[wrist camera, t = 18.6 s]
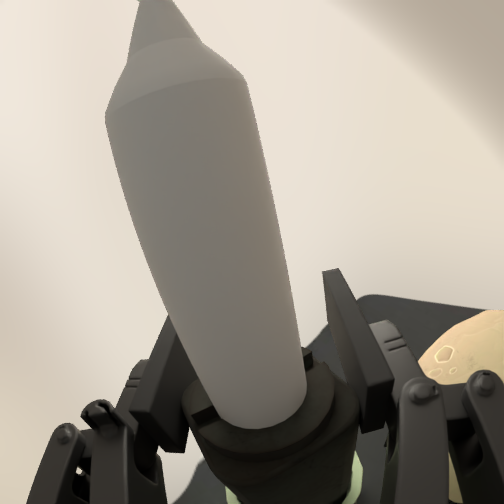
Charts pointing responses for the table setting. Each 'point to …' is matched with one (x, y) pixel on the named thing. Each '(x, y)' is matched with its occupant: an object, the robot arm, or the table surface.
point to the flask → (466, 360)
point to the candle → (225, 269)
